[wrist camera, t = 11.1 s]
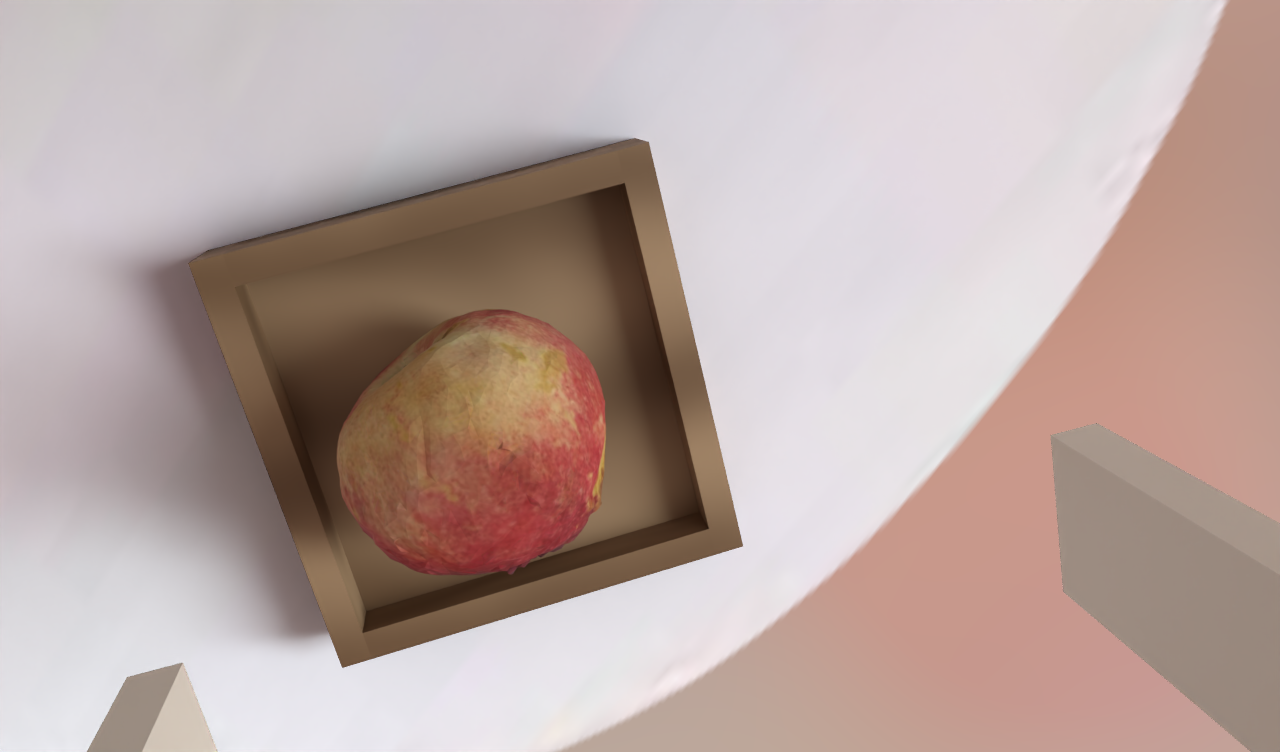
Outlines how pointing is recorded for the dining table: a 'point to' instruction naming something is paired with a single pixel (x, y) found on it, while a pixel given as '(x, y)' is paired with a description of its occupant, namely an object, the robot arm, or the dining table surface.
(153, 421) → the dining table surface
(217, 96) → the dining table surface
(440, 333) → the fruit
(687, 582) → the dining table surface
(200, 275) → the walnut tray
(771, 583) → the dining table surface
